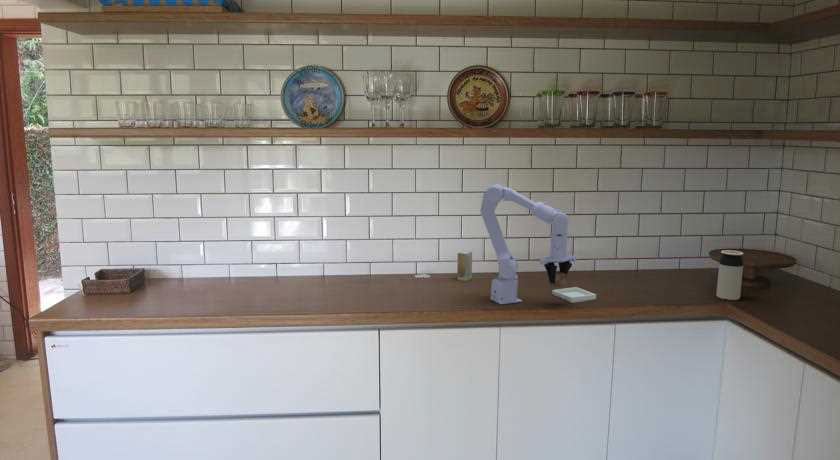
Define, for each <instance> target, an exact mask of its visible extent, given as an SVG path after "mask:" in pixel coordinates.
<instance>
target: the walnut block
mask: <svg viewBox="0 0 840 460" xmlns="http://www.w3.org/2000/svg"><path fill="white" fill-rule="evenodd" d="M565 274H566V273H563V272H560V270H556V274H555V282H554V283H550V282H549V281H548V282H549V284H548V286H551V287H552V288H555V289H558V288H559V289H560V288H566V279H565Z"/></svg>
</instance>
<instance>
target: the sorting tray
mask: <svg viewBox="0 0 840 460" xmlns="http://www.w3.org/2000/svg"><path fill="white" fill-rule="evenodd" d="M551 294H552V295H551V296H553V295H554V297H555V298H558V299H560V298H561V300H563V301H565V300H566V302H568V303H570V304H573V303H581V302H589V301H594V300H595V301H596V300H597V294H596V293H593V292H591V291H588V290H585V289H583V288H580V287H578V286H576V287H575V286H573V287H564V288H559V289H558V288H556V289H552V293H551Z"/></svg>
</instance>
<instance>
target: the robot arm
mask: <svg viewBox="0 0 840 460" xmlns="http://www.w3.org/2000/svg"><path fill="white" fill-rule="evenodd" d="M481 201H482V202H481V205H480V211H479V212H480V214H481V217H482V220H483V222H484V226H485V227H486V230H487V233H488V235H489V239H490V241H491V245H492V247H493V248H494V252H495V254H496V258H497V259H496V260H497V261H496V262H497V263H498V276H497V277H496V278H494V279H492V281H491V285H490V287H491V288H490V297H489V299H490V300H491V301H493V302H495V303H497V304H499V305H507V304H514V303H521V302H523V300H522V299H519V298H518V292H519V291H518V289H519V288H518V287H519V286H518V285H519V284H518V283H519V282H518V281H519V277H518V275H517V273H516V272H517V270H518V268H519V263H518V262H517V260H516V259H515V257H513V255H512V252H511V251H510V248H509V246H508V244H507V242H506V238H505V236H504V234H503V231H502V228H501V226H500V224H499V221H498V218H497V215H496V212H495V211H496V208H497V207H498V204H499V203H500V202H501V201H502V202H513V203H515V204H517V205H519V206H522V207H524V208H526V209H527V210H528V211H529V210H530V211H531V214H532V216H533V217H535V218H537V219H539V220H540V221H543V222H545V223H547V224H550V225H551V226H552V227H551V232H550V253H549V255H550V256H547V257H543V258H539V264H540V265H543V266H544V267H545V270H546V272H547V276H548V282H550V283H554V282H555V274H556V271H560V272H563V273H566V274H565V280H567V276H568V273H569V271H570V269H571V267H573V263H575V262H576V261H577V256H575V255H567V251H568V250H567V249H568V225H569V218H568V215H567V214H566V213H564V211H560V209H558V208H556V209H555V208H553V207H552V206H550V205H548V202H546V201H543V202H542V201H537V202H535V201H533V200H532V199H530V198H528V197H526V196H524V195H523V194H521V193H520V192H518V191H515V189H512V188H509V187H507V186H504V185H502V184H500V183H494V184H492V185H490V186H489V187H488V188H487V189H486V190H485V192H484V193H483V195H482V200H481ZM572 262H573V263H572ZM556 264H558V265H556ZM558 269H559V270H558Z"/></svg>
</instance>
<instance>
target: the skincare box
mask: <svg viewBox="0 0 840 460" xmlns="http://www.w3.org/2000/svg"><path fill="white" fill-rule="evenodd" d="M456 279H457V281H463V282H467V281H469V280H471V279H473V251H472V250H461V251H458V252H457V278H456Z"/></svg>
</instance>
